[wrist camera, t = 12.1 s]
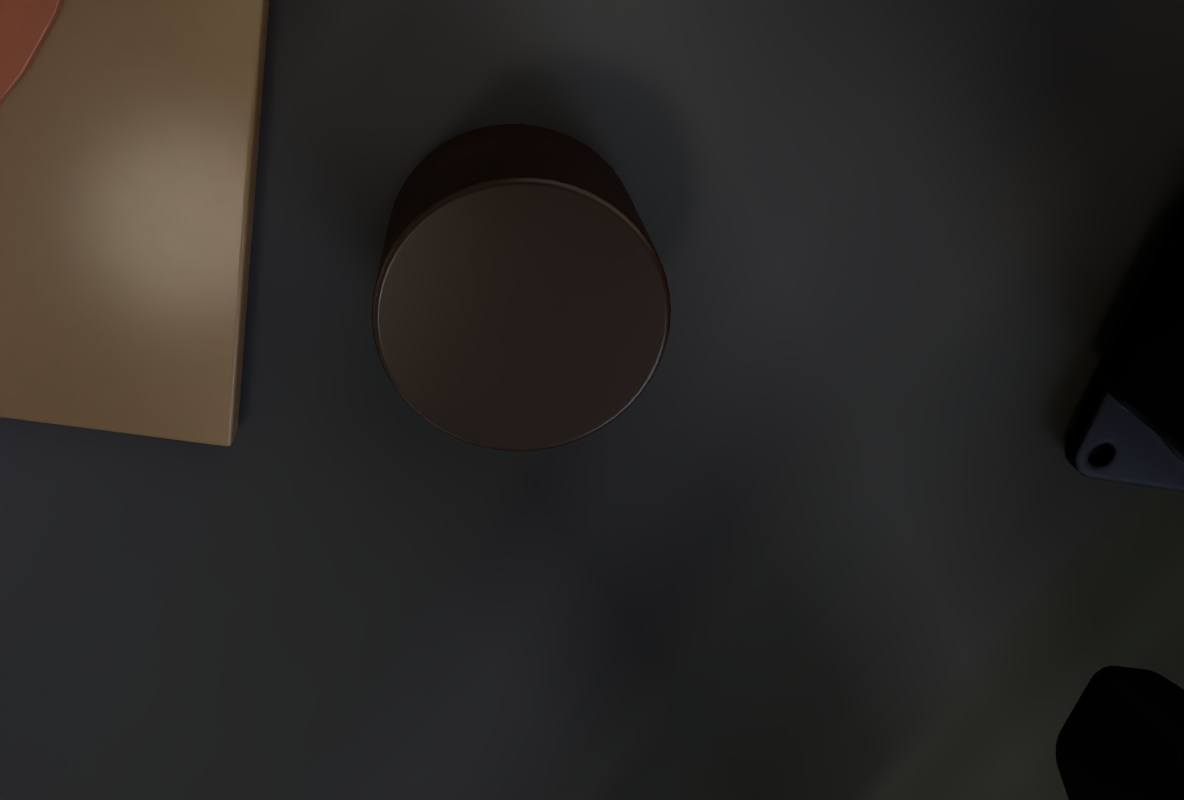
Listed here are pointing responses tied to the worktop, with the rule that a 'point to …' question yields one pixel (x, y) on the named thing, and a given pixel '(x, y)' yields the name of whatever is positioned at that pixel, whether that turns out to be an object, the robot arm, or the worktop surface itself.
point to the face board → (128, 211)
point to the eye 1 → (518, 291)
